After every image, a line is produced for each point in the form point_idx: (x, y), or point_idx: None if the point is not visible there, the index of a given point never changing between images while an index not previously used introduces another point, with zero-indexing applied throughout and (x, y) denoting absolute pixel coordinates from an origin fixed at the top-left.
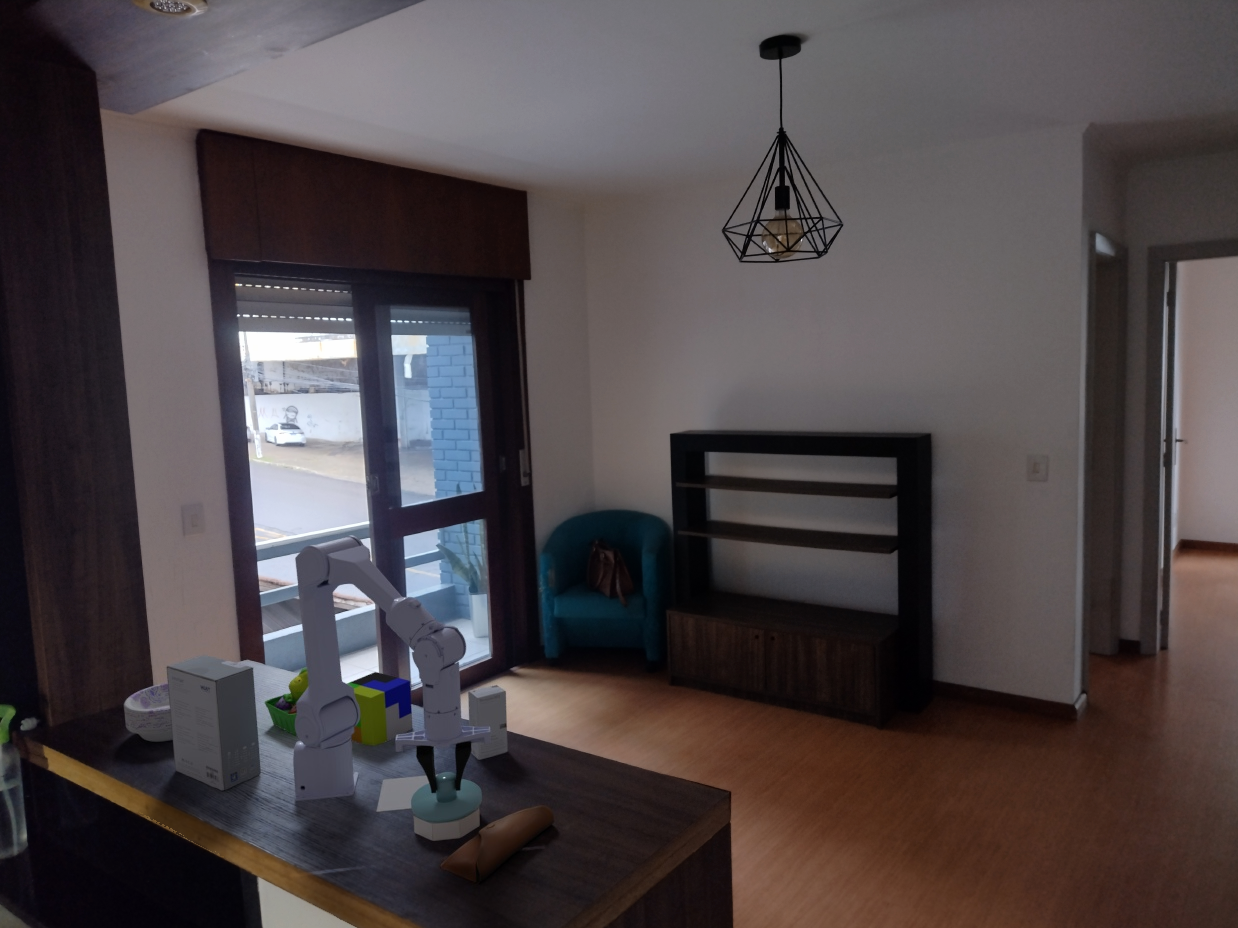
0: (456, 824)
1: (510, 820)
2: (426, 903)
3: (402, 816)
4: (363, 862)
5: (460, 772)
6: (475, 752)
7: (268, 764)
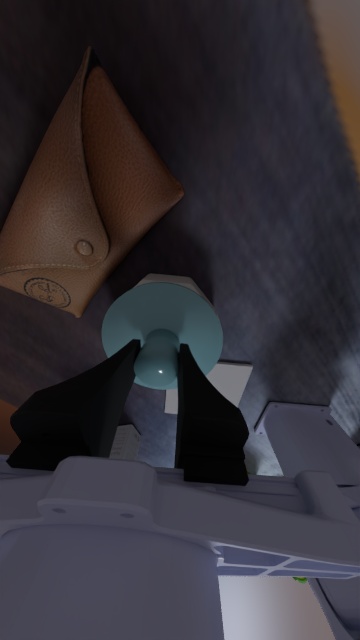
0: (149, 278)
1: (36, 239)
2: (225, 16)
3: (222, 351)
4: (300, 251)
5: (111, 360)
6: (133, 435)
7: None
